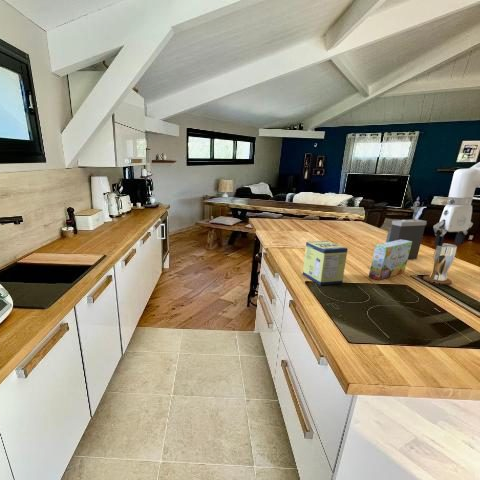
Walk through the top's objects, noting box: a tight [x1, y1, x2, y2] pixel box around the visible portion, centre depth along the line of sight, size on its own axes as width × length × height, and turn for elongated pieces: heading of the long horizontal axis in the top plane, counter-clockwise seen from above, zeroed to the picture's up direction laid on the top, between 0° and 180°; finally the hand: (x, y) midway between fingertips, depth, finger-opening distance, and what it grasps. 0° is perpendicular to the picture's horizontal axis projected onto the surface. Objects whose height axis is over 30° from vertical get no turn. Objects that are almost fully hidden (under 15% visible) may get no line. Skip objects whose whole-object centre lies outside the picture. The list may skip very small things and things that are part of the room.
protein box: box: [302, 240, 348, 286], centre depth 136 cm, size 10×16×16 cm
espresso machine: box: [385, 218, 428, 260], centre depth 166 cm, size 9×14×21 cm, turn 100°
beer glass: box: [428, 242, 458, 281], centre depth 132 cm, size 7×7×15 cm
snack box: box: [368, 240, 412, 281], centre depth 140 cm, size 21×6×15 cm, turn 122°
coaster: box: [422, 275, 453, 286], centre depth 135 cm, size 10×10×1 cm
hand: (448, 244), depth 129 cm, fingers open, 9 cm apart
